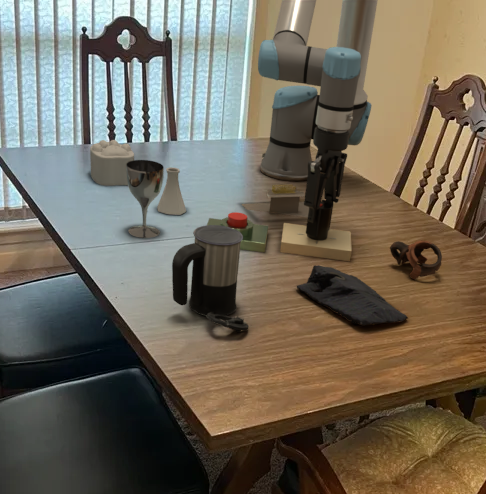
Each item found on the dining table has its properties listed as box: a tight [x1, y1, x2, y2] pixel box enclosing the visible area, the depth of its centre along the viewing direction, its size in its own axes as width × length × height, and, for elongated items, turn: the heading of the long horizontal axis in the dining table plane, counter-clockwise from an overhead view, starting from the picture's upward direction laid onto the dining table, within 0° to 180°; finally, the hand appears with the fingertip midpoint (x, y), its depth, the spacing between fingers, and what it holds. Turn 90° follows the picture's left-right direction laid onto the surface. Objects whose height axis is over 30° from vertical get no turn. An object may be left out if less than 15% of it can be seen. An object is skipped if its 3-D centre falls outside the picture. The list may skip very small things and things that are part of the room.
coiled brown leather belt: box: [389, 240, 443, 280], centre depth 173 cm, size 12×10×8 cm
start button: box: [227, 211, 248, 227], centre depth 174 cm, size 4×4×2 cm
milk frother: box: [171, 224, 250, 333], centre depth 141 cm, size 14×16×15 cm
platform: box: [241, 184, 309, 219], centre depth 194 cm, size 12×18×7 cm, turn 114°
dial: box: [307, 200, 333, 240], centre depth 175 cm, size 5×5×8 cm
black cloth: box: [296, 264, 409, 326], centre depth 155 cm, size 15×22×5 cm
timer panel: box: [279, 222, 353, 262], centre depth 178 cm, size 16×12×3 cm
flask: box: [156, 166, 187, 216], centre depth 184 cm, size 7×7×10 cm
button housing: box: [206, 216, 269, 253], centre depth 176 cm, size 14×11×4 cm
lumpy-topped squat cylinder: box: [89, 139, 135, 187], centre depth 199 cm, size 10×13×9 cm
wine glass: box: [126, 159, 165, 239], centre depth 170 cm, size 8×8×15 cm
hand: (317, 231), depth 177 cm, fingers closed on dial, 5 cm apart
